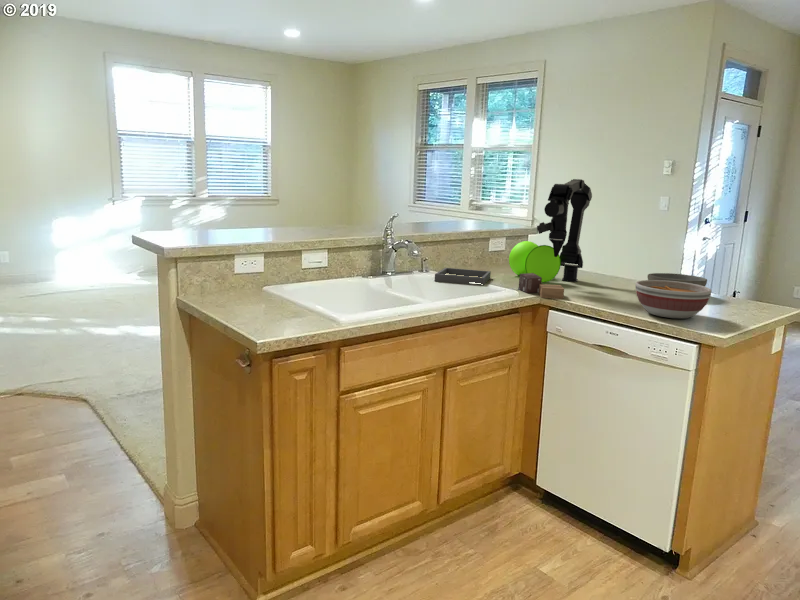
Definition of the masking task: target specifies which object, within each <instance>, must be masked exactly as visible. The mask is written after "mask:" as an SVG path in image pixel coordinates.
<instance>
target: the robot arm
mask: <svg viewBox="0 0 800 600" xmlns="http://www.w3.org/2000/svg"><path fill="white" fill-rule="evenodd" d="M592 197H593V193H592V189H591V187H590V186H589V185H587V183H585V180H584V179H579V178H577V179H576V178H573V179H571V180H570V181H568V182H566V183H554V184H553V186H552V187H551V189H550V192H549V195H548V199H547V201H548V203H546V204H545V206H544V214H545V215H546V216H547V217H550V218H551V219H550V221H549V222H546V223H545V222H544V221H543V222H539V225H536V229H537V232H538V235H540V234H543V233H546V232H549V233H548V234H549V235H548V239H549V241H550V242H551V243H552V247H553V250H554V257H557V256H558V254H559V256H560V259H561V265H560V267H564V268H563V275H562V276H563V277H562V279H561V282H571V283H572V282H573V283H578V282H579V281H578V273H579V272H578V270H579V269H583V267H584V260H583V256H582V250H581V247H580V245H579V244H580V238H581V237H580V236H581V231H582V225H583V219H584V214H585V211H586V210H587V208H588V207H589V206H590V202H591V201H592ZM569 202H570V203H569ZM569 205H571V207H572V213H571V219H570V226H569V231H568V232H567V222H568V215H569V214H568V211H569ZM567 233H568V236H567ZM567 237H568V238H567ZM566 239H567V242H566ZM565 242H566V243H565Z"/></svg>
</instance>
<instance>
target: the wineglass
mask: <svg viewBox="0 0 800 600" xmlns="http://www.w3.org/2000/svg"><path fill="white" fill-rule="evenodd" d="M508 265H509V267H510V269H511V271H512V272H513V273H514V274H515V275H517V276H520V274H523V273H534V274H536V275H538V276H540V277H542V282H541V283H548V282H551V281H552V280H554V278H556V276H557V275H558V274H559V272H560V269H561V266H560V265H561V259H560V253H559V254H558V256H557V257H554V250H553V246H550V245H548V244H543V245H541V244H540V245H539V244H537V243H535V242H533V241H529V240H525V241H523V240H522V241H521V242H518V243H517V244H516V245H515V246H513V248H512V249H511V251H510V253H509V256H508Z"/></svg>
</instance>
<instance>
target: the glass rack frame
mask: <svg viewBox="0 0 800 600" xmlns="http://www.w3.org/2000/svg"><path fill="white" fill-rule="evenodd" d="M446 273H449V274H456V275H445V274H446ZM457 275H464V276H457ZM491 275H492V271H489V270H477V269H466V268H454V267H444V268H442V269H441V270H439V271H438V272H436V273H435V274H434V282H438V283H450V284H460V285H461V284H462V285H470V284H469V282H475V283H481V284H484V285H485V284H486V283H487V282H488V281H489V280H490V279H491ZM469 276H478V277H469ZM480 277H482V278H480Z"/></svg>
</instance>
